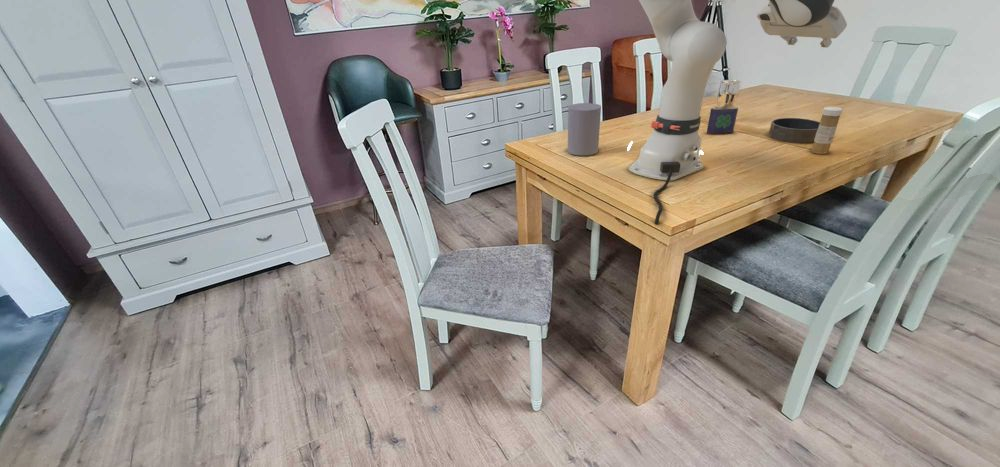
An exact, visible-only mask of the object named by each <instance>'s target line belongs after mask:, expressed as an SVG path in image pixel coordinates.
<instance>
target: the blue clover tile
mask: <svg viewBox="0 0 1000 467" xmlns="http://www.w3.org/2000/svg"><path fill="white" fill-rule="evenodd" d="M728 105H729V104H728V103H725V105H724V106H722V107H721V108H719V107H717V106H715V107H712V108H711V109H710V112H709V118H708V123H707V128H706V134H707V135H728V134H733V133H734V130H735V125H736V121H737V116H738V111H739V107H737V106H734V107H729V106H728Z"/></svg>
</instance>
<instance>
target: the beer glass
mask: <svg viewBox="0 0 1000 467" xmlns="http://www.w3.org/2000/svg"><path fill="white" fill-rule="evenodd" d="M741 83H742V82H741V80H738V79H723V80H720V85H719V87H718V92H717V103H716V104H717V105H716V107H719V108H721V107H722V106H724V105H725V103H728V104H729V105H728V106H729V107H736V103H737V100H738V97H739V94H740V89H741Z"/></svg>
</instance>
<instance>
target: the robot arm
mask: <svg viewBox="0 0 1000 467" xmlns="http://www.w3.org/2000/svg"><path fill="white" fill-rule="evenodd" d="M638 2H639V3H640V6H641V7H642V9H643V10H644V12H645V14H646V16H647V18H648V20H649V23H650V24H651V28H652V30H653V33H654V36H655V38H656V41H657V43H658V47H659V50H660V52H661V54H662V55H663V56H664V57H665V59H666V60H668V61H669V62H672V64H671V68H670V71H669V74H668V77H667V80H666V81H665V83H664V84H663V86H662V88H661V95H660V101H659V102H660V103H659V109H658V110H659V111H658V114H657V116H656V119H655V120H652V121H651V123H650V128H651V129H653V130H652V132H651V134H650V135H649V137H648V138H647V140H646V141H645V142H644V144H643V145H642V147H641V149H640V150H639V155H638V158H637V159H636V160H635V161H634V162H633V163H632V164H631V165H630V166H629V168H628V171H629V172H631V173H633V174H636V175H638V176H641V177H644V178H650V179H653V180H660V181H665V183H664V184H663V185H662V186H661V187H660V188H658V189H657V190H655V191H654V193H653V199H654V201H655V202H656V204H657V205H658V211H657V213H656V216H655V219H654V225H655V226H658V225H659V223H660V222H659V221H660V218H661V215H662V212H663V209H664V208H663V204H662V202H661V201H660V199H659V198H658V194H660V193H661V192H662V191H664V190H665V189H666V188H667V186H668V185H669V183H670V181H672V182H673V181H677V180H678V179H681V178H683V177H685V176H688V175H691V174H694V173H695V172H698V171H701V170H703V169H704V164H703V163H702V162H700V158H701V155H702V156H703V155H704V152H703V151H702V142H703V141H702V137H700V134H699V130H700V126H701V121H702V120H701V118H702V117H701V116H700V115H701V110H702V105H703V100H704V94H705V91H706V87H707V84H708V81H709V79H710V76H711V74H712V72H713V70H714V67H715V65H716V64H717V63H718V62H719V61H720V60H721V59H722V57H723V56H724V54H725V52H726V49H727V42H728V40H727V37H726V34H725V32H724V31H723V30H722V29H721V28H720V27H719V26H717V25H716V24H715V23H713V22H710V21H702V20H700V19H699V18H698V17H697V15H696V13H695V10H694V7H693V2H692V0H638ZM834 3H835V0H767V1H766V2H765V3H764V5H763V6H762V7H761V8H760V9H759V11H758V12H757V13H756V18H757V19H758V21H759V23H760V26H761V28H762V30H763V32H764V33H765V34H766V35H769V36H780V38H781V39H782V40H784V41H786V43H787V45H788V46H794V45H796V43H797V42H798V38H797V37H800V38H801V37H802V38H817V39H821V41H820V42H819V45H820V46H821V48H827V49H828V48H829V47H830V46H831V45H832V44H833V41H832V39H837V38H838V37H839V36H840V35H841V34H842V33H843V32H844V31H845V30H846V28H847V26H848V23H847V21H846V18H845V16H844V15H843V12H842V11H841V10H840V9H839V7H838V6H836V5H833V4H834ZM632 145H633V141H632V140H631V141H630V143H629V144H628V146H627V150H626V151H627V152H629V151H630V149H631V147H632Z"/></svg>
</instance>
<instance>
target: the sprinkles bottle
mask: <svg viewBox="0 0 1000 467" xmlns="http://www.w3.org/2000/svg"><path fill="white" fill-rule="evenodd" d="M842 114H843V108H842V107H838V106H825V107H823V109H822V112H821V118H820V121H819V122H820V124H819V127H818V130H817V133H816V136H815V139H814V143H812V147H811V149H810V152H812V153H814V154H817V155H827V154H829V153H830V148H831V145H832V143H833V140H834V137H835V135H836V134H835V133H836V131H837V128H838V123H839V120H840V118H841V116H842Z"/></svg>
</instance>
